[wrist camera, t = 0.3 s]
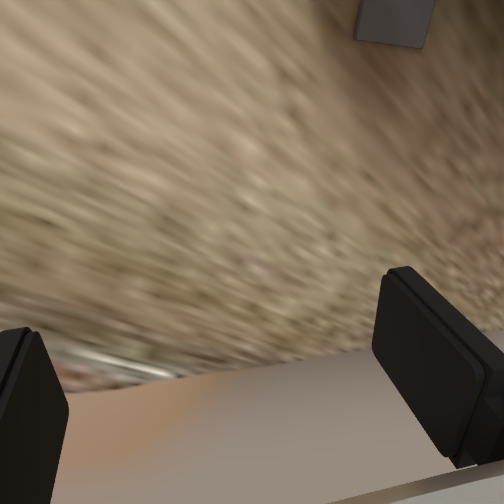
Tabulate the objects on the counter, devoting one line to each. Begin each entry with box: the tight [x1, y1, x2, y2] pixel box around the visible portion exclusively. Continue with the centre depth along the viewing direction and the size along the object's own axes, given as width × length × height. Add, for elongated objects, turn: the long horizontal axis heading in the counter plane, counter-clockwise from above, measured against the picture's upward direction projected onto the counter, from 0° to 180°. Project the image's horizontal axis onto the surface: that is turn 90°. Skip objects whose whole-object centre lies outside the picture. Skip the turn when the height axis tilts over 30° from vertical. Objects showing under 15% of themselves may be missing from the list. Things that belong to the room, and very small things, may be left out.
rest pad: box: [354, 0, 436, 49], centre depth 36 cm, size 7×7×1 cm
